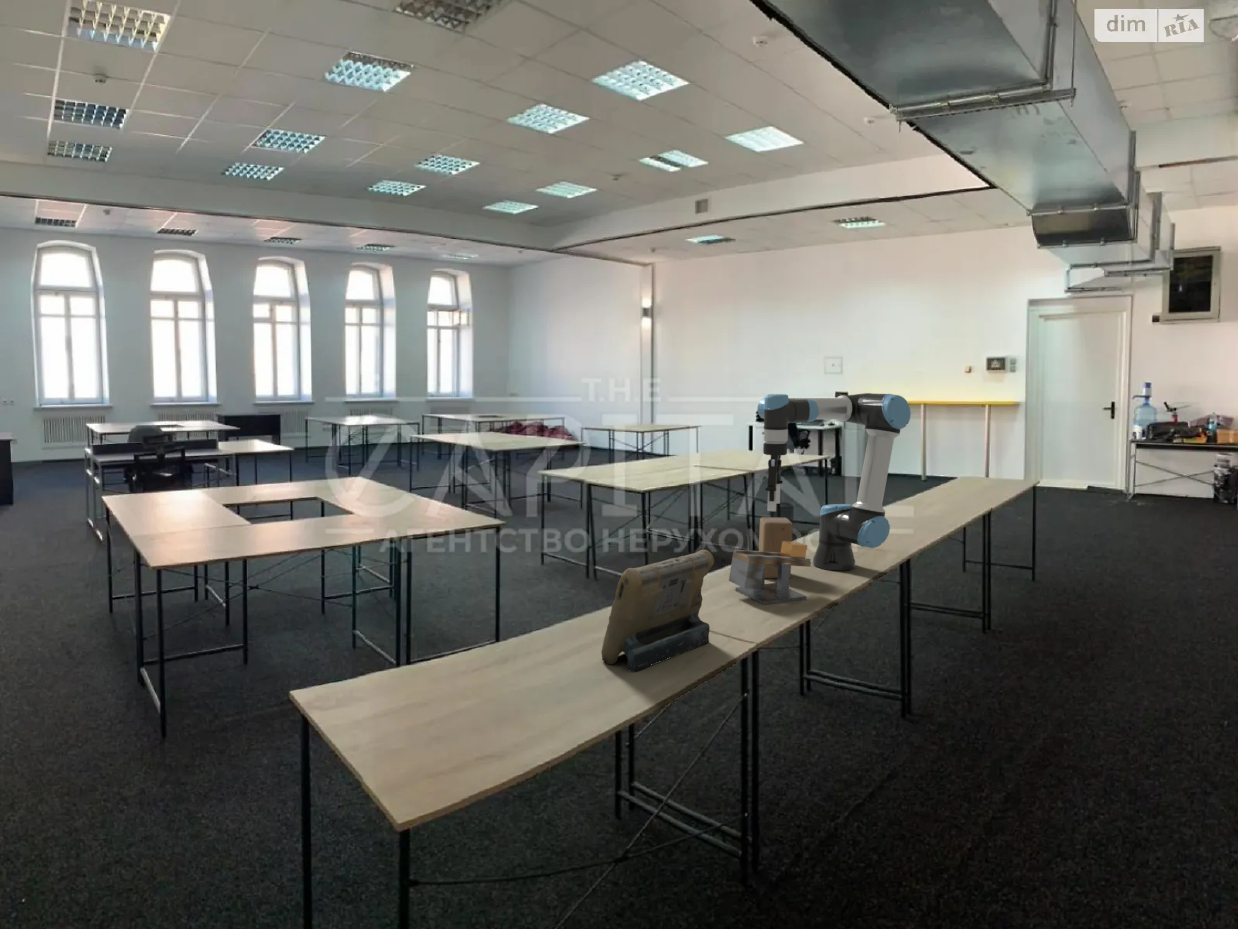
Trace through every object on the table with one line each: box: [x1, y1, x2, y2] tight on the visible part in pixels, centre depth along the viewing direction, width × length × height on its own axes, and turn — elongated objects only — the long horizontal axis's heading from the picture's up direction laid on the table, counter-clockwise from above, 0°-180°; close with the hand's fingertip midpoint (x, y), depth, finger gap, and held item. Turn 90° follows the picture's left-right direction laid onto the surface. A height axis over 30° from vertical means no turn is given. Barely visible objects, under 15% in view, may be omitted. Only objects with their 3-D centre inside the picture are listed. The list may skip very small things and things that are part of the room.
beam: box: [728, 549, 812, 589], centre depth 242 cm, size 24×9×10 cm, turn 115°
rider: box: [780, 541, 808, 558], centre depth 245 cm, size 6×5×5 cm
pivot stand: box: [735, 562, 807, 606], centre depth 243 cm, size 16×16×12 cm
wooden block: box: [758, 516, 794, 579], centre depth 266 cm, size 10×10×20 cm
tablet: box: [601, 549, 715, 672], centre depth 192 cm, size 33×14×25 cm, turn 141°
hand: (773, 507), depth 247 cm, fingers open, 13 cm apart
